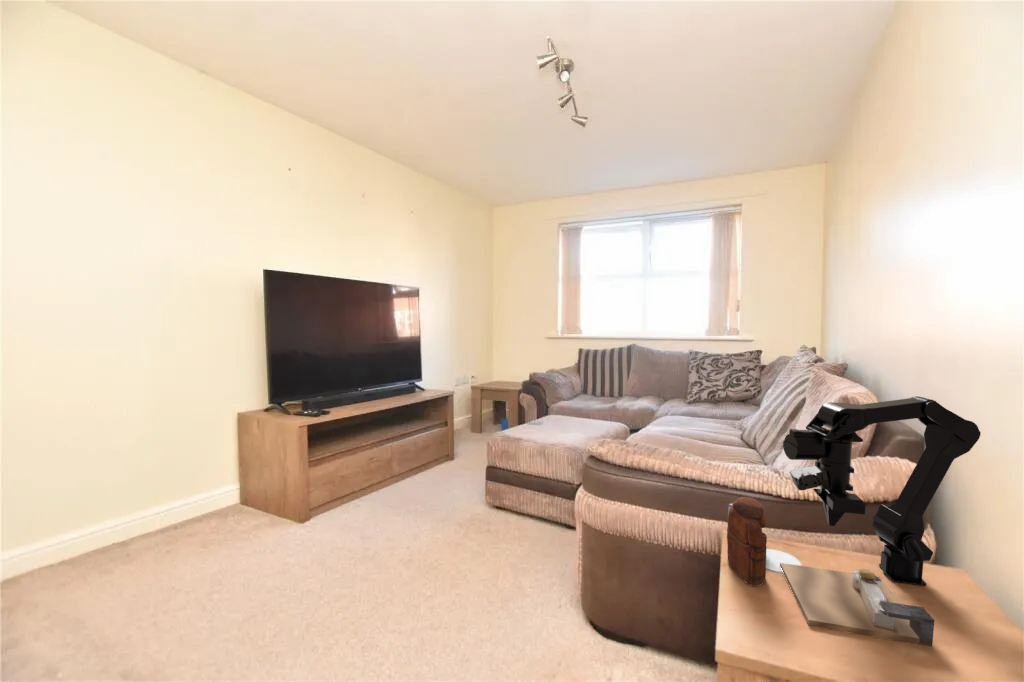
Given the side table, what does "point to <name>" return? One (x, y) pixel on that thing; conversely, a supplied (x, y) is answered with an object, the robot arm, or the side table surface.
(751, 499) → the brown wooden carving
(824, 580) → the board
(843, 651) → the side table surface
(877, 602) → the link
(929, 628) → the keeper
